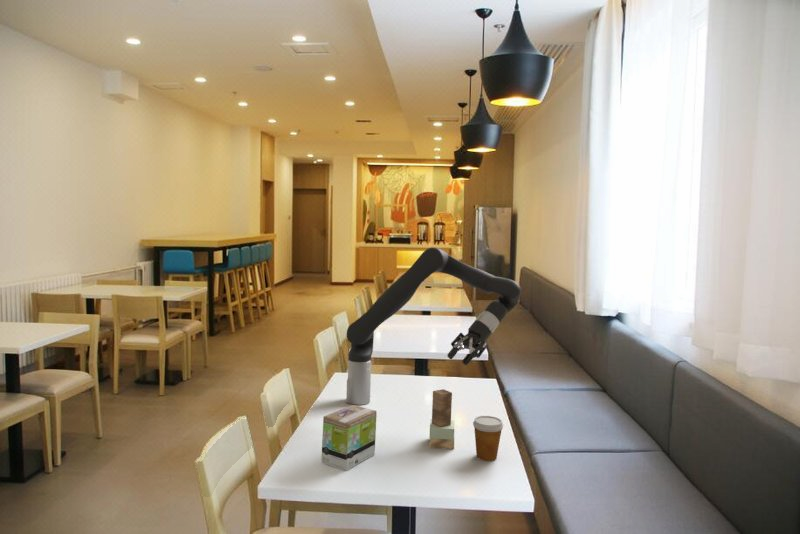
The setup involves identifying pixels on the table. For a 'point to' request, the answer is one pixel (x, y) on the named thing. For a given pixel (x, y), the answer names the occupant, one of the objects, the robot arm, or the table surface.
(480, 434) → the disposable coffee cup
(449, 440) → the oak slab
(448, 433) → the sage slab
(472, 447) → the table surface
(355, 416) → the tea box
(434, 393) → the walnut pillar
